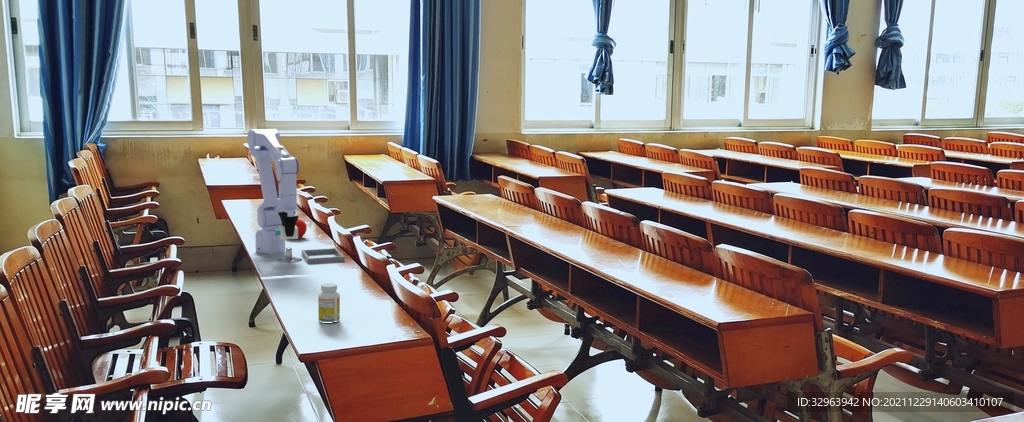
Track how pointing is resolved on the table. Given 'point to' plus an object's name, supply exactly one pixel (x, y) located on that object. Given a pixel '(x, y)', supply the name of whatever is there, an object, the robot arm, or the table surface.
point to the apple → (301, 228)
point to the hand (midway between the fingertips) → (288, 234)
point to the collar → (282, 233)
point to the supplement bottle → (329, 303)
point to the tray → (323, 259)
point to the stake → (289, 257)
